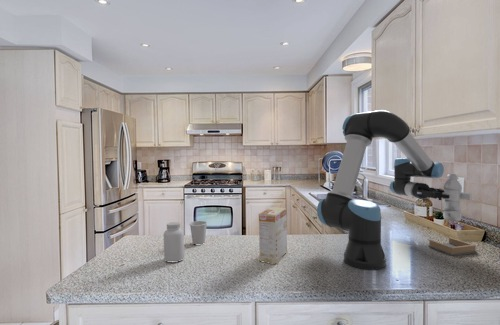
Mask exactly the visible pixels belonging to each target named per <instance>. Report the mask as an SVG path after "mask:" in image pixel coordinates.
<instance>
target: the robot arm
mask: <svg viewBox="0 0 500 325" xmlns="http://www.w3.org/2000/svg"><path fill="white" fill-rule="evenodd" d="M410 131H411V128H410V126H409V124H408V123H407V122H406V121H405V120H403V119H402V118H401V117H400V116H398V115H397V114H395V113H393V112H390V111H388V110H384V109H381V110H380V109H379V110H374V111H367V112H357V113H354V114H350V115H348V116H347V117H346V118H345V120H344V121H343V124H342V133H343V134H342V135H343V136H344V140H345V142H346V143H345V147H344V150H343V154H342V157H341V161H340V163H339V166H338V170H337V174H336V177H335V179H334V183H333V185H332V190H330V191H328V192H327V194H326V196H325V197H324V198H321V200H319V201H318V203H317V206H316V209H317V210H316V214H317V217H318V220H319V221H320V223H321V224H323V225H326V226H328V227H330V228H336V229H338V230H341V231H342V230H343V231H347V232H348V240H347V244H346V248H345V250H344V254H343V261H344V262H345V263H346V264H348V265H349V266H351V267H354V268H358V269H363V270H381V269H384V268H385V267H386V266H387V257H386V255H385V251H384V249H383V246H382V212H381V208H380V206H379V205H378V204H377V203H375V202H372V201H370V200H369V201H368V200H361V199H354V197H353V195H354V191H355V188H356V184H357V181H358V176H359V173H360V170H361V166H362V163H363V160H364V156H365V153H366V149H367V147H368V146H371V144H372V141H373V138H384V139H387V140H388V142H390V143H393V144H394V145H395V146H396V148H398V150H400V152H402V154H403V155H404V156H405V157H398V158H395V159H394V165H393V168H394V175H393V176H394V179H393V180H392V181H390V183H389V189H390V191H391V193H393V194H396V195H399V196H405V197H411V198H412V199H414V198H416V199H421V200H425V199H427V198H430V199H435V200H436V199H438V201H442V200H445V199H447V200H453V201H458V194H451V193H444V188H441V187H440V188H437V187H436V188H435V187H430V186H429V185H428V184H427V183H425V182H424V183H423V182H417V181H411V180H412V179H411V178H412V177H415V178H427V179H428V178H429V179H440V178H442V176H443V175H444V171H445V170H444V167H445V166H444V164H443V163H441V162H439V161H438V162H437V161H433V160H432V159H431V157H430V156H429V155H428V154H427V152H426V150H424V149H423V147H422V146H421V145H420V143H419V142H418V141H417V139H416V138H415V137H414V135H413V134H412V133H411V132H410ZM460 200H465V201H466V200H467V201H472V193H469V192H463V191H461V196H460Z"/></svg>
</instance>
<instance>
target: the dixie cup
mask: <svg viewBox="0 0 500 325" xmlns="http://www.w3.org/2000/svg"><path fill="white" fill-rule="evenodd" d="M207 224H208V222H207V221H205V220H196V221H192V222H191V221H190V223H189V227H190V228H189V229H190V233H191V239H192V240H191V241H192V245H193V244H203V243H205V244H206V234H207ZM203 245H204V244H203Z"/></svg>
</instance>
